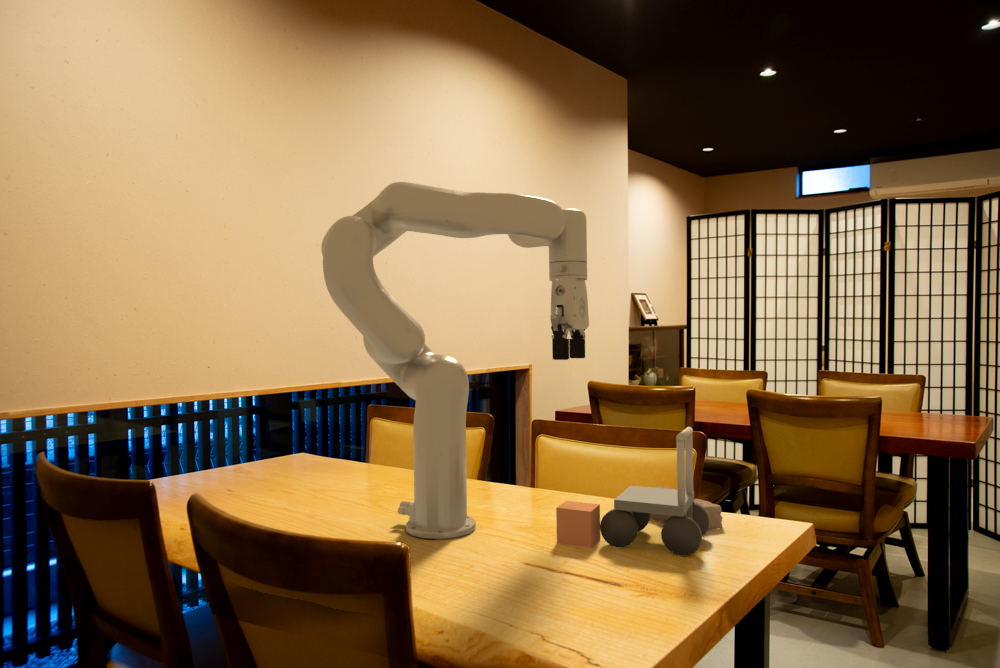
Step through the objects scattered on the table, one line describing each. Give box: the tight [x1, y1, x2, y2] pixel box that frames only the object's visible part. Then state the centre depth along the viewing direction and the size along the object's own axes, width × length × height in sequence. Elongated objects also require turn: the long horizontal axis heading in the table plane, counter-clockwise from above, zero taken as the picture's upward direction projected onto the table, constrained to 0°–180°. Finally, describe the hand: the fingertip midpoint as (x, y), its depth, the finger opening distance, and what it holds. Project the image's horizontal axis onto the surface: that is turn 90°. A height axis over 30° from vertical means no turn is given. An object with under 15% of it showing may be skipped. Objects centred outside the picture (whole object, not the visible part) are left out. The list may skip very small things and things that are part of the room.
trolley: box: [600, 426, 710, 557], centre depth 105 cm, size 16×11×19 cm
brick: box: [650, 485, 723, 531], centre depth 119 cm, size 17×8×5 cm, turn 24°
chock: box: [555, 500, 601, 549], centre depth 106 cm, size 6×5×6 cm
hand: (569, 358), depth 125 cm, fingers open, 9 cm apart
